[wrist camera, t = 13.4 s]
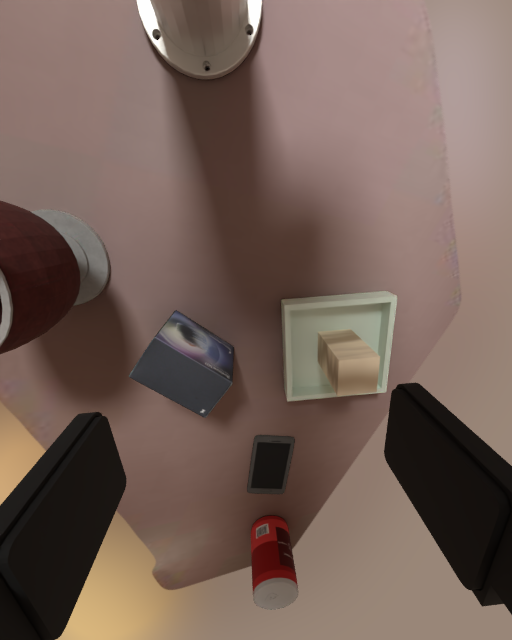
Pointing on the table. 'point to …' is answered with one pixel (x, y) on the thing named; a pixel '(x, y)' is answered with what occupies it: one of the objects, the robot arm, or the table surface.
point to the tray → (326, 315)
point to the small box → (187, 365)
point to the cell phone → (270, 464)
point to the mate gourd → (45, 270)
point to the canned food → (272, 564)
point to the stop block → (348, 362)
